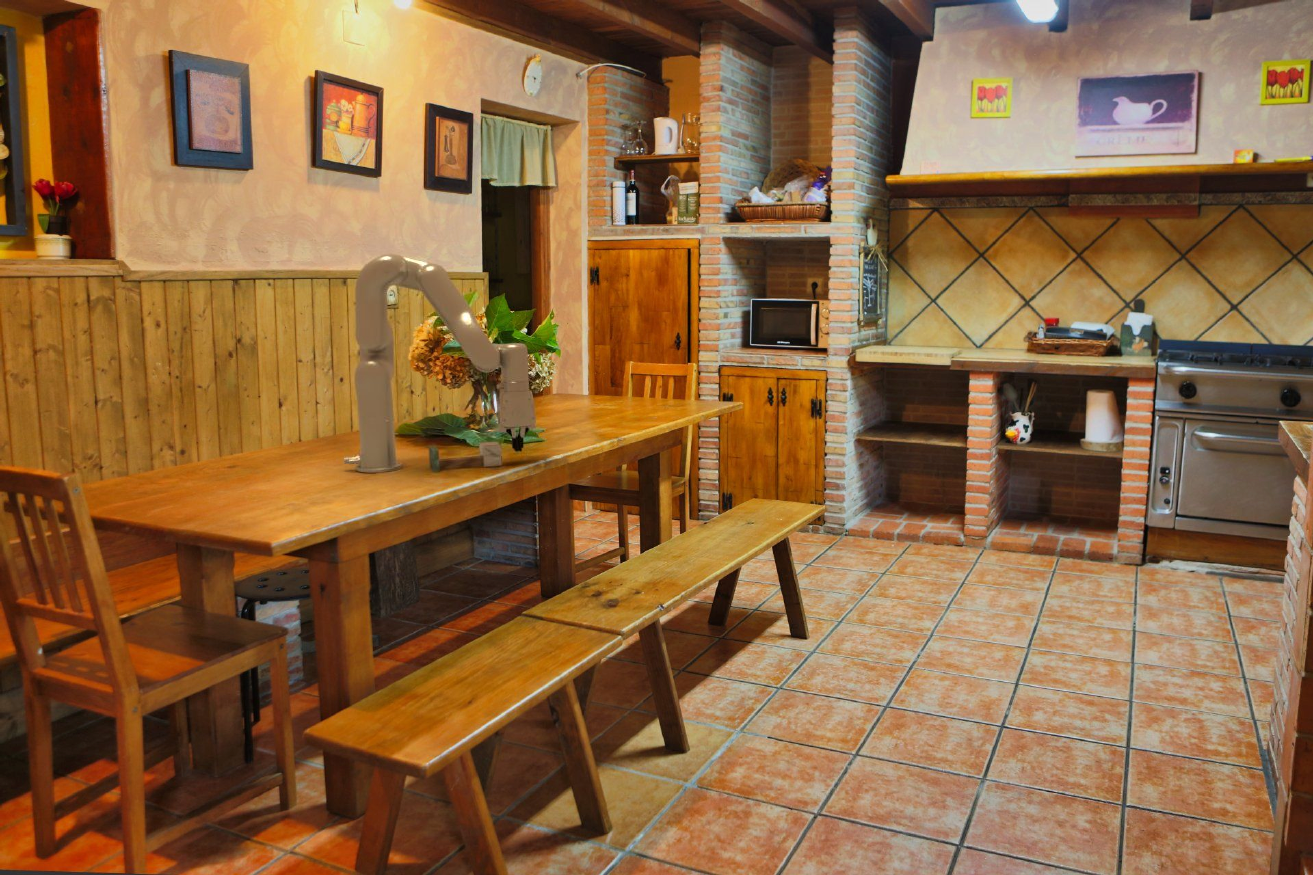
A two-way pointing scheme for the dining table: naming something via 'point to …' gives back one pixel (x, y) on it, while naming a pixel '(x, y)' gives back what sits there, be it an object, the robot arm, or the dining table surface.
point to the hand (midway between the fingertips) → (518, 450)
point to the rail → (452, 461)
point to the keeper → (490, 453)
